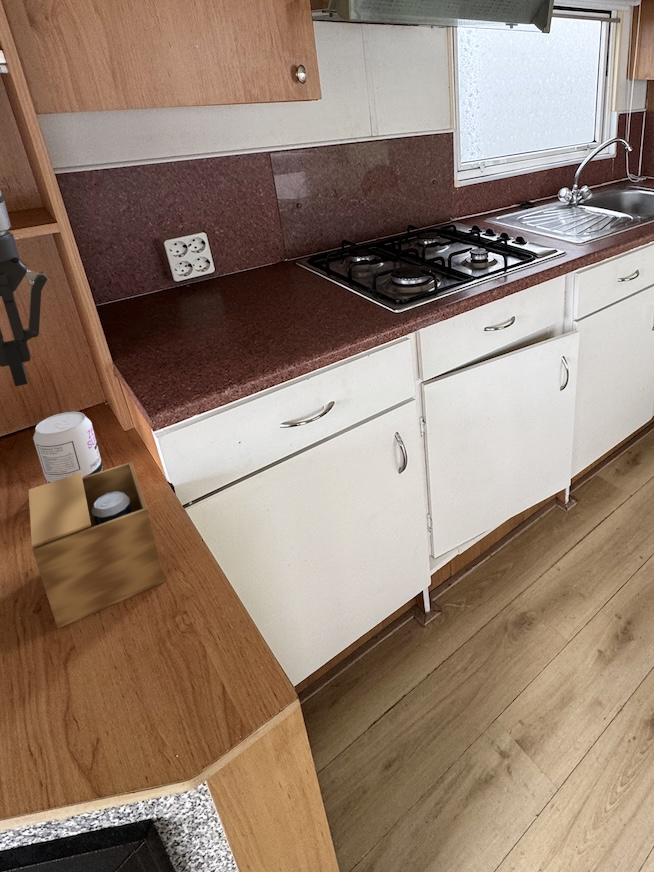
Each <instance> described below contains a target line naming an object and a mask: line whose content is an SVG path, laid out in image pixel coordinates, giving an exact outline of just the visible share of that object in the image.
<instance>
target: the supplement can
mask: <svg viewBox="0 0 654 872" xmlns="http://www.w3.org/2000/svg"><path fill="white" fill-rule="evenodd" d="M32 440H33V443H34V446H35V449H36V453H37V456H38V461H39V463H40V467H41V469H42V473H43V476H44V479H45V484H47V483H50V482H54V481H57V480H60V479H63V478H66V477H69V476H72V475H75V474H78V473H81V475H82V477H85V476H88V475H91V474H95V473H98V472H101V471H104V470H105V469H104V465H103V462H102V458H101V454H100V449H99V446H98V443H97V439H96V435H95V431H94V427H93V423H92V421H91V420H90V419H89V418H88V417H87V416H86V415H85V414H84V413H83V412H80V411H68V412H67V411H66V412H62V413H57V414H54V415H51V416H49V417H46V418H45V419H42V420H41V421H40V422H39V423H38V424H36V426H35V429H34V433H33V437H32Z"/></svg>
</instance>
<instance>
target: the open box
mask: <svg viewBox="0 0 654 872" xmlns="http://www.w3.org/2000/svg"><path fill="white" fill-rule="evenodd" d="M82 480H83V485H84V490H85V496H86V501H87V506H88V511H89V516H90V521H91V526H90V527H87V528H84V529H82V530H79V531H76V532H74V533H71V534H68V535H65V536H63V537H60V538H57V539H55V540H52V541H49V542H47V543H44V544H41V545H38V546H36V547H33V548H32V547H31V549H32V554H33V557H34V560H35V563H36V566H37V569H38V573H39V575H40V579H41V582H42V585H43V587H44V588H43V589H44V591H45V593H46V597H47V600H48V603H49V606H50V609H51V612H52V615H53V619H54V622H55V625H56V628H57V629H61V628H63V627H66V626H67V625H69V624H72V623H74V622H77V621H80V620H81V619H84V618H86V617H89V616H90V615H93V614H95V613H97V612H100V611H102V610H104V609H106V608H108V607H112V606H113V605H116V604H118V603H120V602H123V601H125V600H127V599H129V598H131V597H134V596H137V595H139V594H141V593H143V592H145V591H147V590H150V589H152V588H154V587H157V586H159V585H161V584H164V583H165V579H164V573H163V570H162V565H161V561H160V556H159V552H158V547H157V544H156V543H157V542H156V539H155V535H154V530H153V526H152V522H151V517H150V513H149V509H148V506H147V502H146V499H145V497H144V494H143V491H142V488H141V485H140V482H139V479H138V476H137V473H136V470H135V466H134V463H133V461H129V462H127V463H124V464H120V465H116V466H114V467H111V468H107V469H104V471H101V472H98V473H95V474H91V475H88V476H85V477H82ZM112 492H122V493H124V494H125V495H127V496H128V497H129V498H130V504H131V508H132V513H130V514H127V515H124V516H121V517H119V518H116V519H113V520H110V521H108V522H105V523H102V524H99V525H97V526H96V523H95V519H94V515H93V514H92V508H93V506H94V503H95V502H96V500H97V499H98V498H100V497H101V496H103V495H105V494H107V493H112Z"/></svg>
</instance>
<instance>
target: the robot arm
mask: <svg viewBox="0 0 654 872" xmlns="http://www.w3.org/2000/svg"><path fill="white" fill-rule="evenodd" d="M9 217H10V216H9V213H8V210H7V206H6V202H5V199H4V197H3V194H2V191H1V189H0V297H1V299H2V300H1V301H2V303H3V305H4V309H5V312H6V316H7V319H8V322H9V326H10V329H11V332H12V336H13V340H8V341H4V335H3V332H2V329H1V327H0V367H1V368H3V367H9V370H10V373H11V377H12V381H13V383H14V387H15V388H16V387H20V386H24V385H25V386H26V385H28V384H29V383H28V375H27V374H28V373H27V372H26V368H25V364H24V363H27V362H30V361H31V351H30V347H29V345H28V341H29V340H31V339H33V338H37V337H39V335H40V324H41V323H40V321H41V306H42V305H41V303H42V290H43V288H44V287H45V285H46V283H47V281H48V277H47V276H48V275H47V273H46V272H44V271H35V270H32V269H29V268H27V265H26V264H25V263H24V262H23V261H22V260H21V258H20V254H19V250H18V247H17V244H16V240H15V237H14V234H13V233H12V232H11V231H10V228H11V227H12V224H11V221H10V218H9ZM24 278H26V283H27V285H28V286H30V292H29V293H30V294H29V311H28V327H27V328H25V329H24V326H23V323H22V319H21V316H20V312H19V308H18V305H17V301H16V298H15V294H14V293H15V292H16V291H17V289H18V287H19V286H20V284H21V282H22V281H23V279H24Z"/></svg>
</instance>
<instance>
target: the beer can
mask: <svg viewBox="0 0 654 872" xmlns="http://www.w3.org/2000/svg"><path fill="white" fill-rule="evenodd" d="M130 513H132V508H131V504H130V498H129V497H128V496H127V495H125V494H124V493H122V492H112V493H107V494H105V495H103V496H101V497H100V498H98V499H97V500H96V502H95V503H94V506H93V508H92V514H93V515H94V519H95V523H96V526H97V525H99V524H102V523H105V522H108V521H110V520H113V519H116V518H119V517H121V516H124V515H127V514H130Z"/></svg>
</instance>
